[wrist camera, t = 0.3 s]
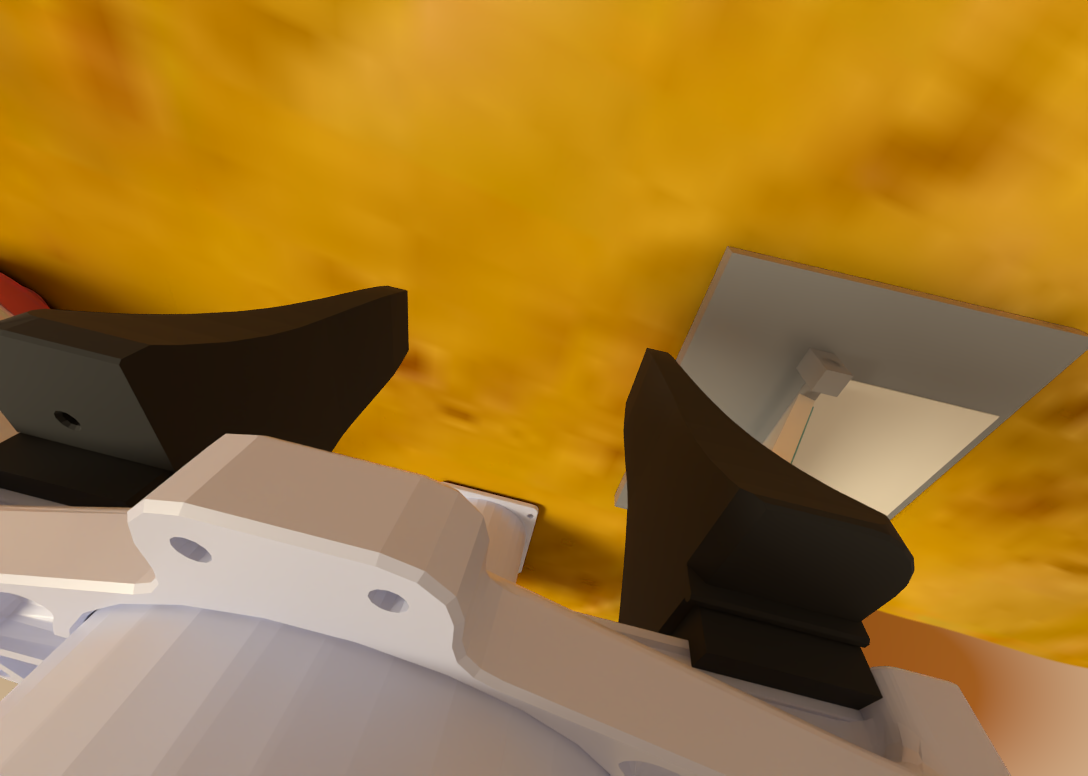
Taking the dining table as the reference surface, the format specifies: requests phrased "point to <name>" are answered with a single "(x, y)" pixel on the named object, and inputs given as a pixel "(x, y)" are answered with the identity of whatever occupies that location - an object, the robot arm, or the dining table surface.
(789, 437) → the tile
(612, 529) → the dining table surface
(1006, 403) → the grey flat piece
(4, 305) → the citrus juicer
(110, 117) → the dining table surface
